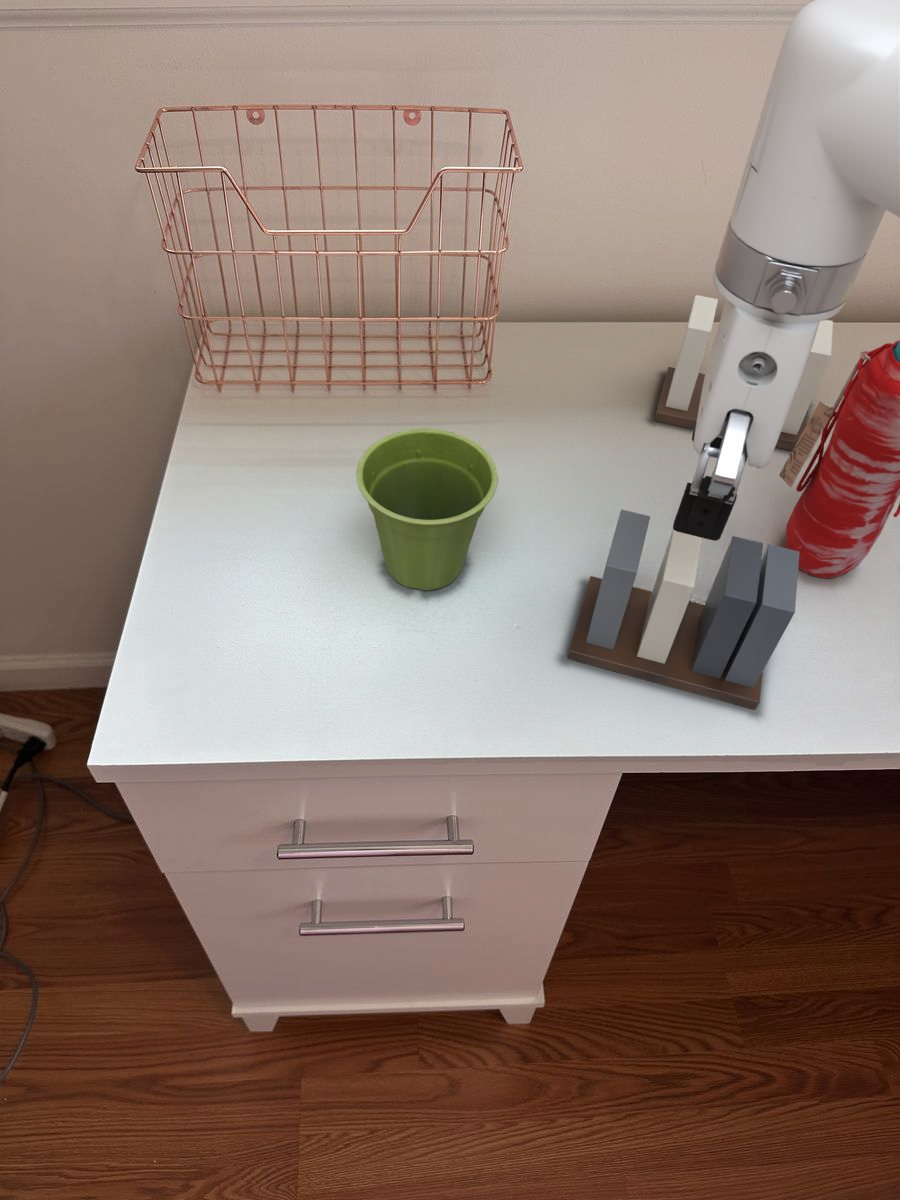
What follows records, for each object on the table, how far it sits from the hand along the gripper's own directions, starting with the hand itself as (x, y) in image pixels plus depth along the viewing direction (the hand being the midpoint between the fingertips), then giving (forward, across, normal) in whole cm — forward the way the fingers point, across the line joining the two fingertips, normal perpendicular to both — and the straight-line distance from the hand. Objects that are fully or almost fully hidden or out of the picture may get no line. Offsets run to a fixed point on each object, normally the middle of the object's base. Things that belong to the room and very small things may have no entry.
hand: (704, 486), depth 61 cm
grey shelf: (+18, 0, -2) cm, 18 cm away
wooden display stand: (+18, +35, -4) cm, 39 cm away
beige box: (+17, 0, 0) cm, 17 cm away
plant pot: (+18, +2, +21) cm, 28 cm away
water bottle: (+18, +16, -13) cm, 27 cm away
